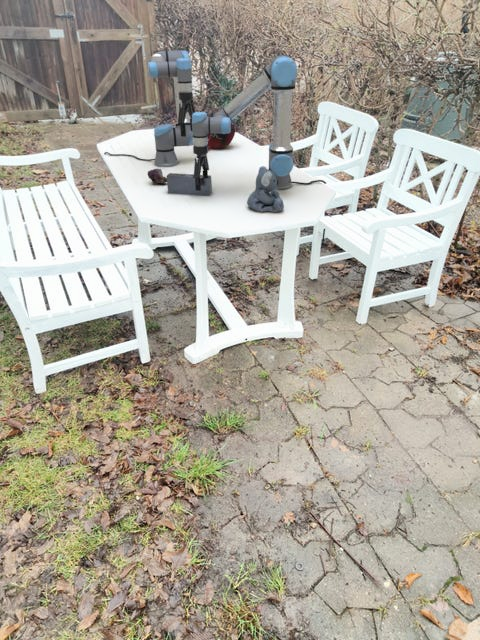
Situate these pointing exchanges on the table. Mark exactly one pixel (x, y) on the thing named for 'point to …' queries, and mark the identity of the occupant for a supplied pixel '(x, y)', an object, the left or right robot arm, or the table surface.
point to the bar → (188, 184)
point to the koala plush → (265, 193)
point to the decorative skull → (220, 139)
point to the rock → (157, 176)
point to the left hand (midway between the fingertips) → (188, 133)
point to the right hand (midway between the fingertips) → (201, 186)
